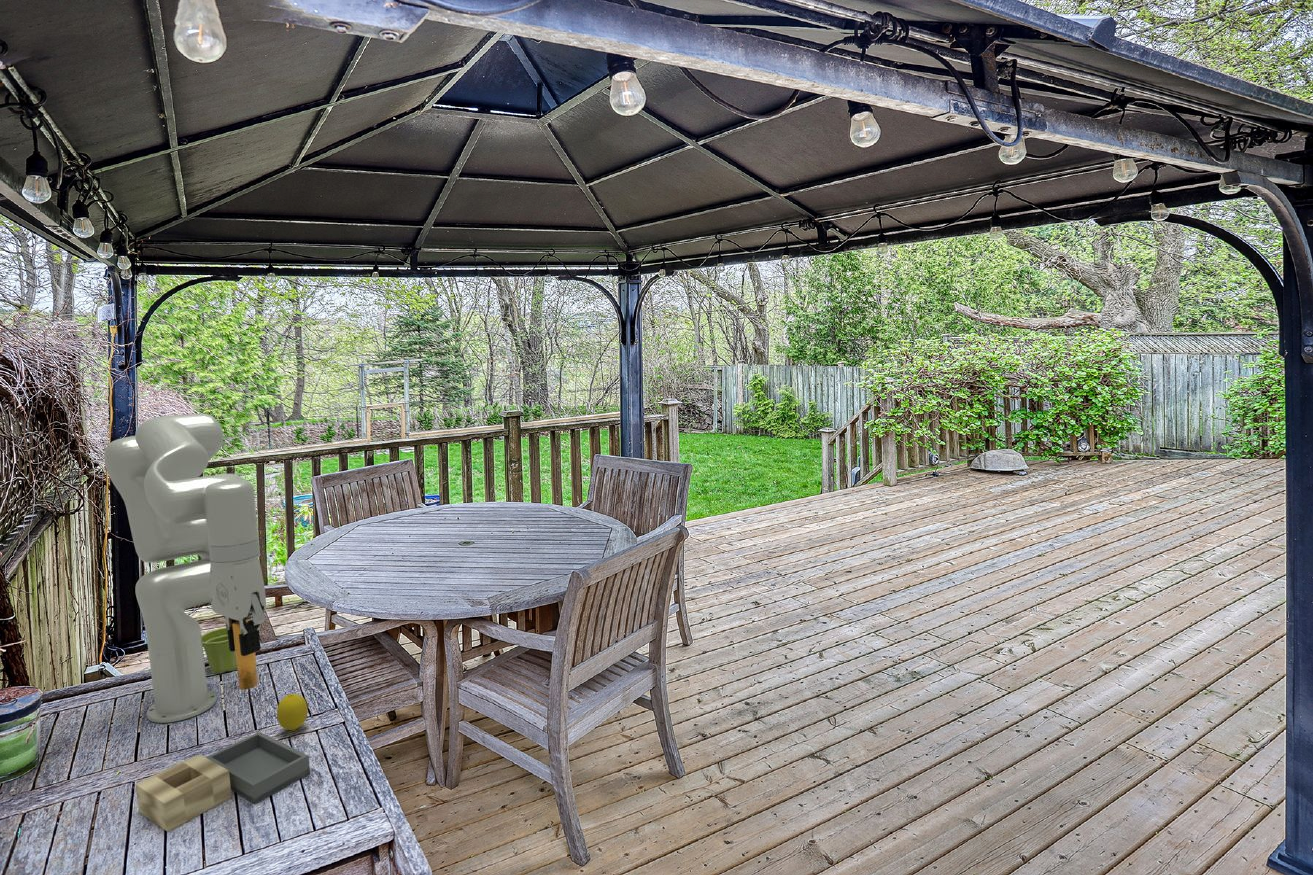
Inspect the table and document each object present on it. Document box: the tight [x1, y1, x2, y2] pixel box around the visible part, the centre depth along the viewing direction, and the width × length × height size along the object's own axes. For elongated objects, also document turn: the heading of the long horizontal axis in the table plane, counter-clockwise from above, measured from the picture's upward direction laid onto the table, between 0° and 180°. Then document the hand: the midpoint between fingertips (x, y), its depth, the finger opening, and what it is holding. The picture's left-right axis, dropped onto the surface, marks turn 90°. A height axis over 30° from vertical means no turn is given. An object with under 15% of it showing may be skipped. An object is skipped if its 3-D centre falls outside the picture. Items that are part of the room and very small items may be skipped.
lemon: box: [276, 692, 309, 732], centre depth 142 cm, size 6×6×8 cm
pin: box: [232, 618, 259, 691], centre depth 124 cm, size 3×3×12 cm
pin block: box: [134, 753, 233, 832], centre depth 119 cm, size 10×10×5 cm
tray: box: [206, 731, 311, 805], centre depth 127 cm, size 16×10×4 cm, turn 59°
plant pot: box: [201, 627, 237, 674], centre depth 170 cm, size 9×9×9 cm
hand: (245, 649), depth 124 cm, fingers closed on pin, 3 cm apart
